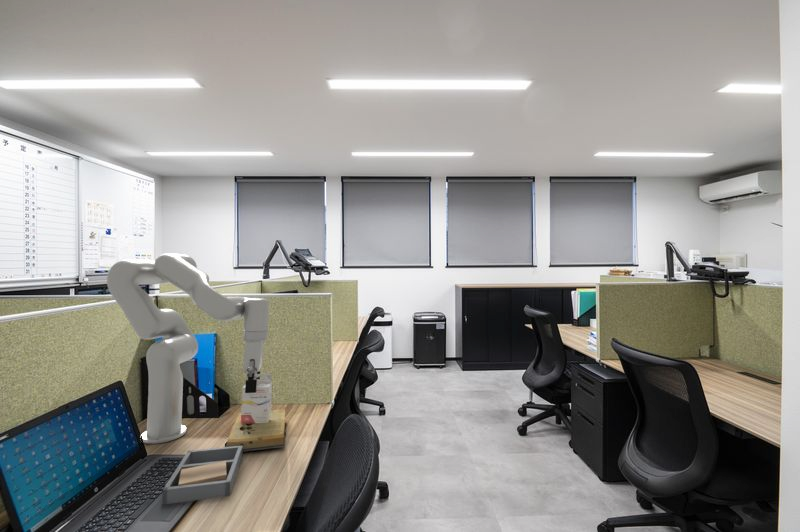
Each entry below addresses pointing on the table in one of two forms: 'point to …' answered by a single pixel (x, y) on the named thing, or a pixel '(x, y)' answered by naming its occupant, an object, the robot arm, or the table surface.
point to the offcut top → (203, 474)
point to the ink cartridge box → (257, 401)
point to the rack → (209, 489)
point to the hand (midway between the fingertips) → (252, 387)
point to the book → (259, 433)
